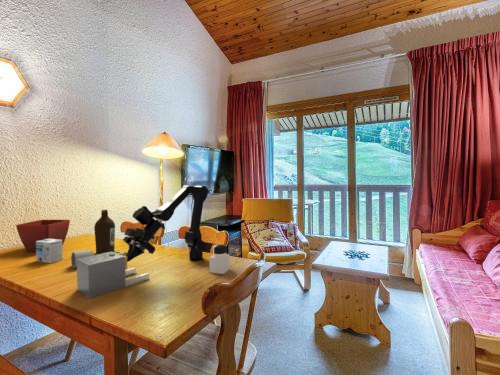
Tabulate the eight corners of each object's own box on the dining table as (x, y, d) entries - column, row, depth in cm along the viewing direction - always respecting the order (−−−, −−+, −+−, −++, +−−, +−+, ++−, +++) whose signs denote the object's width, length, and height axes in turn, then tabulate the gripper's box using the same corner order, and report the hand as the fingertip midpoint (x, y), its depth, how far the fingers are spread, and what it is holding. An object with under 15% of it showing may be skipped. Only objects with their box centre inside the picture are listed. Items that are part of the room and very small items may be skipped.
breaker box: (135, 272, 117) (134, 245, 117) (149, 278, 110) (148, 249, 109) (77, 289, 99) (76, 257, 99) (89, 298, 92) (88, 263, 91)
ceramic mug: (94, 265, 128) (94, 249, 128) (75, 269, 122) (74, 253, 122) (87, 261, 135) (87, 246, 135) (69, 265, 129) (68, 249, 129)
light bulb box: (35, 261, 134) (35, 241, 134) (49, 257, 141) (48, 238, 140) (50, 263, 131) (49, 242, 131) (63, 259, 138) (62, 239, 137)
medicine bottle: (230, 269, 121) (229, 244, 121) (223, 274, 114) (223, 247, 114) (216, 267, 123) (216, 242, 123) (209, 272, 117) (209, 246, 116)
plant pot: (48, 253, 149) (47, 224, 148) (15, 253, 149) (14, 224, 149) (71, 245, 168) (70, 219, 167) (42, 245, 168) (42, 219, 168)
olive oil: (92, 255, 144) (90, 211, 144) (98, 250, 155) (97, 209, 154) (112, 254, 147) (111, 210, 146) (117, 249, 157) (117, 208, 156)
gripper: (126, 218, 117) (101, 247, 109) (148, 222, 105) (121, 255, 97) (143, 232, 124) (120, 261, 115) (165, 238, 112) (141, 270, 104)
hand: (125, 261), depth 108 cm, fingers closed, pressing on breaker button
